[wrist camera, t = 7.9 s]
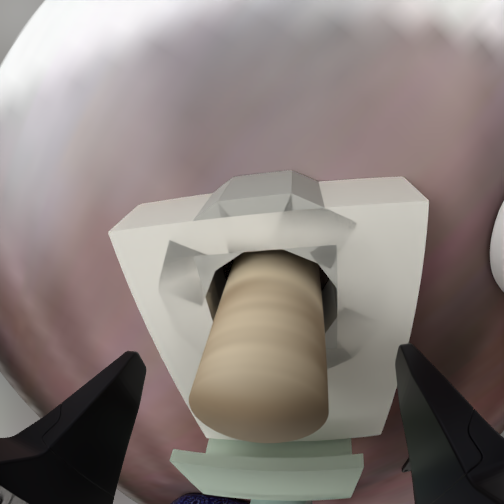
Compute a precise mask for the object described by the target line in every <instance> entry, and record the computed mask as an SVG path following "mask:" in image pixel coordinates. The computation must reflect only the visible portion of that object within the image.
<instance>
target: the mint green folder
mask: <svg viewBox="0 0 504 504" xmlns="http://www.w3.org/2000/svg"><path fill="white" fill-rule="evenodd" d="M170 462H171V463H172V464H173V465H174V466H175V467H176V468H177V469H178V470H179V471H180V472H181V473H182V474H183V475H184V476H185V477H186V478H187V479H188V480H189V481H190V482H191V483H192V484H193V485H194V486H196V487H197V488H198V489H199V490H200V491H201V492H202V493H203V494H207V495H215V496H223V497H232V498H242V499H256V500H281V501H305V500H329V499H343V498H351V496H352V494H353V492H354V489H355V487H356V485H357V482H358V480H359V478H360V475H361V473H362V470H363V468H364V461H363V454H353V455H352V446H351V438H348V439H336V440H321V441H292V442H282V443H255V442H248V441H240V440H225V439H213V438H209V441H208V445H207V450H206V453H198V452H191V451H183V450H177V449H173V452H172V455H171V458H170Z"/></svg>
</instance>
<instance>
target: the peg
mask: <svg viewBox="0 0 504 504" xmlns="http://www.w3.org/2000/svg"><path fill="white" fill-rule="evenodd" d="M189 406H190V408H191V410H192V412H193V413H194V415H195V416H196V417H197V418H198V419H199V420H200V421H201V422H202V423H203V424H205V425H206V426H208V427H209V428H211V429H213V430H214V431H216V432H218V433H221V434H223V435H226V436H228V437H231V438H235V439H238V440H243V441H248V442H255V443H282V442H289V441H294V440H298V439H301V438H304V437H306V436H309V435H311V434H313V433H314V432H316V431H317V430H319V429H320V428H321V427H322V426H323V425H324V424H325V422H326V421H327V418H328V415H329V402H328V378H327V359H326V343H325V328H324V315H323V303H322V292H321V281H320V271H319V264H318V263H316V262H313V261H311V260H308V259H306V258H303V257H301V256H298V255H296V254H293V253H291V252H288V251H286V250H283V249H277V250H265V251H252V252H243V253H241V254H240V255H238V256H237V257H235V258H234V261H233V264H232V267H231V270H230V273H229V276H228V279H227V282H226V285H225V288H224V291H223V294H222V297H221V300H220V303H219V306H218V309H217V312H216V315H215V318H214V321H213V324H212V327H211V330H210V333H209V336H208V339H207V342H206V345H205V348H204V351H203V354H202V358H201V361H200V364H199V367H198V370H197V373H196V376H195V379H194V382H193V385H192V388H191V392H190V395H189Z"/></svg>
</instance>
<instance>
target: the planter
mask: <svg viewBox="0 0 504 504" xmlns="http://www.w3.org/2000/svg"><path fill="white" fill-rule="evenodd" d="M171 504H249V503H247V502H244V501H240V500H237V499H232V498H228V497H223V496H215V495H207V494H199V493H193V494H186V495H183V496H181V497H179V498H177V499H176V500H174V501H173V502H172V503H171Z"/></svg>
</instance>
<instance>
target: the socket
mask: <svg viewBox="0 0 504 504" xmlns="http://www.w3.org/2000/svg"><path fill="white" fill-rule="evenodd" d="M428 210H429V201H428V200H427V199H426V198H425V197H424V196H423V195H422V194H421V193H420V192H419V191H418V190H417V189H416V188H415V187H414V186H413V185H412V184H411V183H410V182H408V181H407V180H406V179H405V178H404V177H403V176H401V177H379V178H362V179H346V180H333V181H320V182H318V181H316V180H314V179H311V178H309V177H307V176H304V175H302V174H300V173H298V172H295V171H293V170H288V171H278V172H269V173H260V174H252V175H244V176H236V177H233V178H231V179H230V180H229V181H227V182H226V183H225V184H224V185H222V186H221V187H220V188H219V189H217V190H216V191H215V192H214V193H210V194H203V195H196V196H189V197H182V198H175V199H169V200H163V201H156V202H150V203H144V204H139V205H138V206H137V207H136V208H134V209H133V210H132V211H131V212H130V213H129V214H128V215H126V216H125V217H124V218H123V219H122V220H121V221H120V222H119V223H118V224H116V225H115V226H114V227H113V228H112V229H111V230H110V231H109V232H108V233H109V236H110V239H111V242H112V244H113V247H114V250H115V252H116V255H117V258H118V260H119V263H120V265H121V268H122V270H123V273H124V275H125V278H126V280H127V283H128V285H129V288H130V290H131V292H132V295H133V297H134V299H135V302H136V304H137V306H138V309H139V311H140V313H141V315H142V318H143V320H144V322H145V324H146V326H147V328H148V331H149V333H150V335H151V337H152V339H153V341H154V343H155V345H156V347H157V349H158V351H159V353H160V355H161V357H162V359H163V361H164V363H165V365H166V367H167V369H168V371H169V373H170V375H171V377H172V379H173V380H174V382H175V384H176V386H177V388H178V390H179V391H180V393H181V395H182V397H183V399H184V400H185V402H186V404H187V406H188V407H189V409H190V411H191V413H192V414H193V416H194V418H195V419H196V421H197V423H198V424H199V426H200V428H201V429H202V431H203V433H204V434H205V436H206V438H213V439H225V440H238V439H235V438H231V437H228V436H226V435H223V434H221V433H218V432H216V431H214V430H213V429H211V428H209V427H208V426H206V425H205V424H203V423H202V422H201V421H200V420H199V419H198V418H197V417H196V416H195V415H194V413H193V412H192V410H191V408H190V406H189V395H190V392H191V388H192V385H193V382H194V379H195V376H196V373H197V370H198V367H199V364H200V361H201V358H202V354H203V351H204V348H205V345H206V342H207V339H208V336H209V333H210V330H211V327H212V324H213V321H214V318H215V315H216V312H217V309H218V306H219V303H220V300H221V297H222V294H223V291H224V288H225V285H226V279H225V275H224V271H223V267H222V266H223V265H225V264H226V263H228V262H229V261H231V260H232V259H234V258H235V257H237V256H238V255H240V254H241V253H243V252H252V251H265V250H277V249H283V250H286V251H288V252H291V253H293V254H296V255H298V256H301V257H303V258H306V259H308V260H311V261H313V262H316V263H318V264H319V266H320V267H321V268H322V270H323V271H324V272H325V273H326V275H327V276H328V277H329V281H328V282H327V284H326V285H325V287H324V289H323V290H322V303H323V315H324V328H325V343H326V359H327V378H328V402H329V415H328V418H327V421H326V422H325V424H324V425H323V426H322V427H321V428H320V429H319V430H317V431H316V432H314V433H313V434H311V435H309V436H306V437H304V438H301V439H298V440H294V441H321V440H336V439H348V438H358V437H367V436H375V435H381V433H382V430H383V427H384V425H385V422H386V419H387V416H388V413H389V410H390V407H391V404H392V401H393V398H394V394H395V391H396V388H397V378H396V370H395V360H396V356H397V351H398V347H399V345H401V344H407V343H409V339H410V334H411V330H412V325H413V320H414V315H415V310H416V305H417V300H418V294H419V288H420V282H421V275H422V268H423V261H424V253H425V244H426V234H427V223H428ZM240 441H243V440H240ZM289 442H292V441H289Z"/></svg>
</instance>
